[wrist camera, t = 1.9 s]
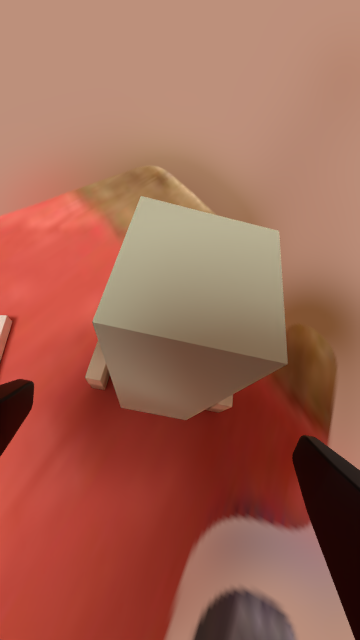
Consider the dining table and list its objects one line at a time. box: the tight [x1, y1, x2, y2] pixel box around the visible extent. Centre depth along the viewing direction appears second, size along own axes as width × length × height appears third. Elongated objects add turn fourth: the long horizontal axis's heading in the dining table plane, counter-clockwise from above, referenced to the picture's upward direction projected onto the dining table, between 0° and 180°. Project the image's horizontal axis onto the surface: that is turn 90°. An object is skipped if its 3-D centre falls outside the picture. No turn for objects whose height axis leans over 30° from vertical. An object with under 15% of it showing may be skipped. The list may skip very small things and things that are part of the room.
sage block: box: [92, 196, 288, 420], centre depth 13 cm, size 5×5×14 cm
